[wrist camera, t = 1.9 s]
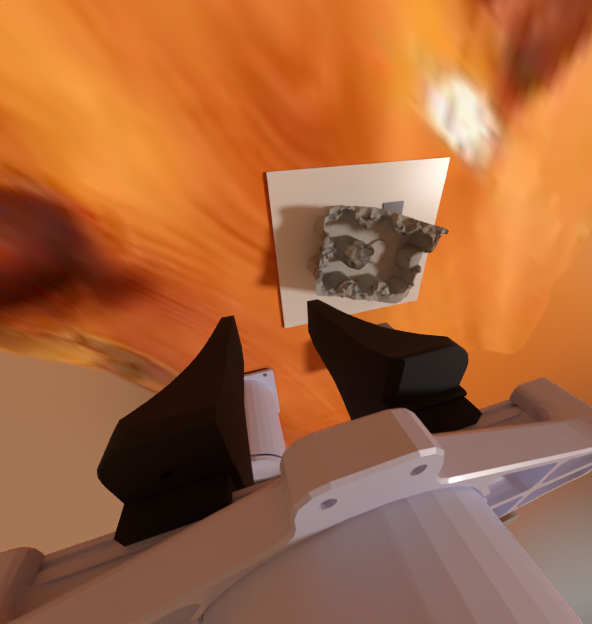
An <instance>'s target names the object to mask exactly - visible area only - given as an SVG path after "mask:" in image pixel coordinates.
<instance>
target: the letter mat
mask: <svg viewBox="0 0 592 624" xmlns="http://www.w3.org/2000/svg"><path fill="white" fill-rule="evenodd" d="M449 160H450V157H447V158H434V159H422V160H410V161H397V162H385V163H373V164H361V165H348V166H336V167H324V168H311V169H299V170H287V171H274V172H266V176H267V184H268V193H269V201H270V210H271V218H272V226H273V235H274V243H275V252H276V260H277V268H278V277H279V285H280V294H281V302H282V310H283V319H284V327H285V328H289V327H294V326H298V325H303V324H308V313H307V301H311V300H316V299H318V300H321V301H323V302H325V303H327V304H329V305H330V306H332V307H334V308H336V309H338V310H340V311H342V312H344V313H347V314H349V315H350V314H354V313H359V312H364V311H369V310H373V309H378V308H383V307H387V306H392V305H397V304H401V303H406V302H411V301H415V300H417V297H418V293H419V289H420V285H421V280H422V276H423V272H424V268H425V263H426V259H427V255H428V253H424V252H423V254H422V257H421V259H420V262H419V264H418V265H419V266H421V272H420V273H418V274H417V275H416V277H415V279H414V282H413V283H414V286H413V287H412V288H411V289H410V291H409V293H408V295H407V297H405V298H404V299H403V300H401V301H400V302H398V303H385V302H378V301H367V300H353V299H350V298H347V297H344V298H342V297H339V296H332V297H330V296H318V295H317V293H316V280H315V277H314V276H313V275H312V273H311V272H310V271H309V270H308V269H307V264H308V259H309V258H311V257H314V256H316V255H317V254H318V253H319V252H320V251H321V245H322V242H323V239H322V236H321V234H320V233H318V232H316V231H314V227H315V222H316V219H317V218H319V217H322V216H324V215H326V214H327V213H328V212H329V210H330V209H329V207H330V206H331V207H332V206H336V205H344V206H364V207H376V208H381V209H384V210H387V211H390V212H393V213H397V214H400V215H404V216H407V217H411V218H414V219H416V220H419V221H422V222H426V223H429V224H432V225H435V220H436V216H437V212H438V208H439V203H440V199H441V195H442V190H443V186H444V182H445V178H446V173H447V169H448V165H449Z"/></svg>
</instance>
